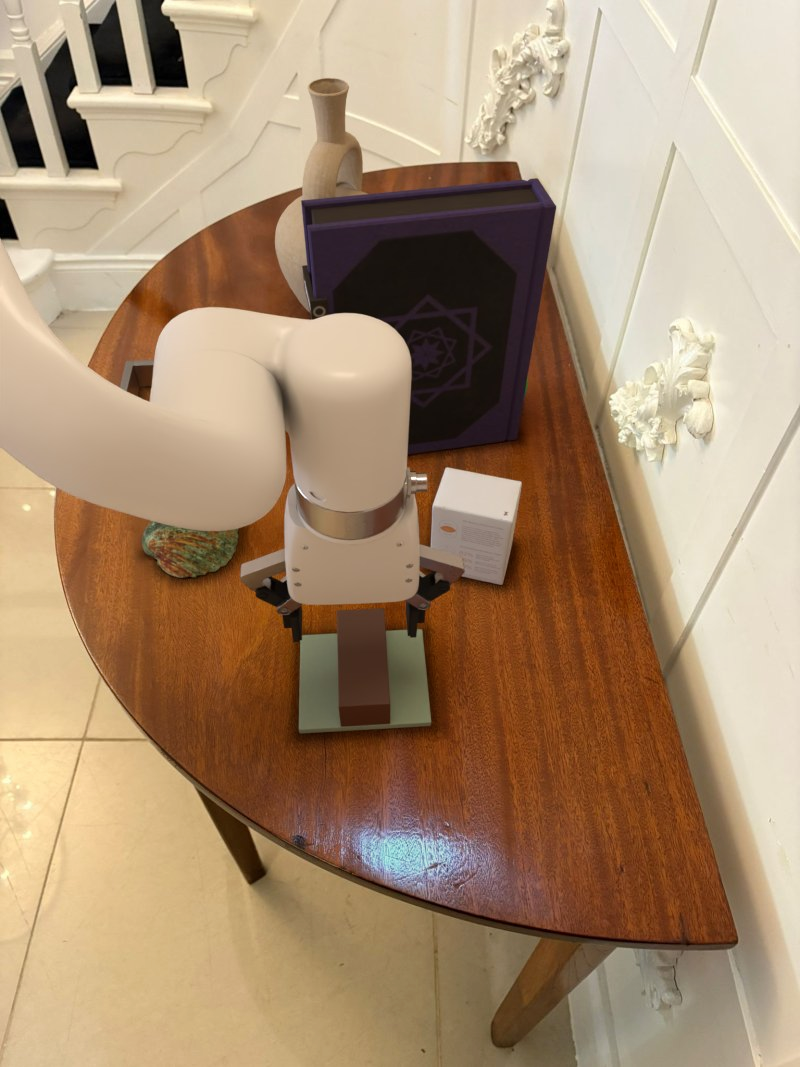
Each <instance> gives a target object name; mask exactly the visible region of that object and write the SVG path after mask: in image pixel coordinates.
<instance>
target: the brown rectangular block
mask: <svg viewBox="0 0 800 1067" xmlns="http://www.w3.org/2000/svg"><path fill="white" fill-rule="evenodd" d="M386 631H387V630H386V611H385V608H384V607H380V608H376V607H375V608H359V609H338V610H336V633H337V651H338V707H339V716H340V724H341V727H345V726H362V725H379V724H390V690H389V674H388V658H387V643H386Z"/></svg>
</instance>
